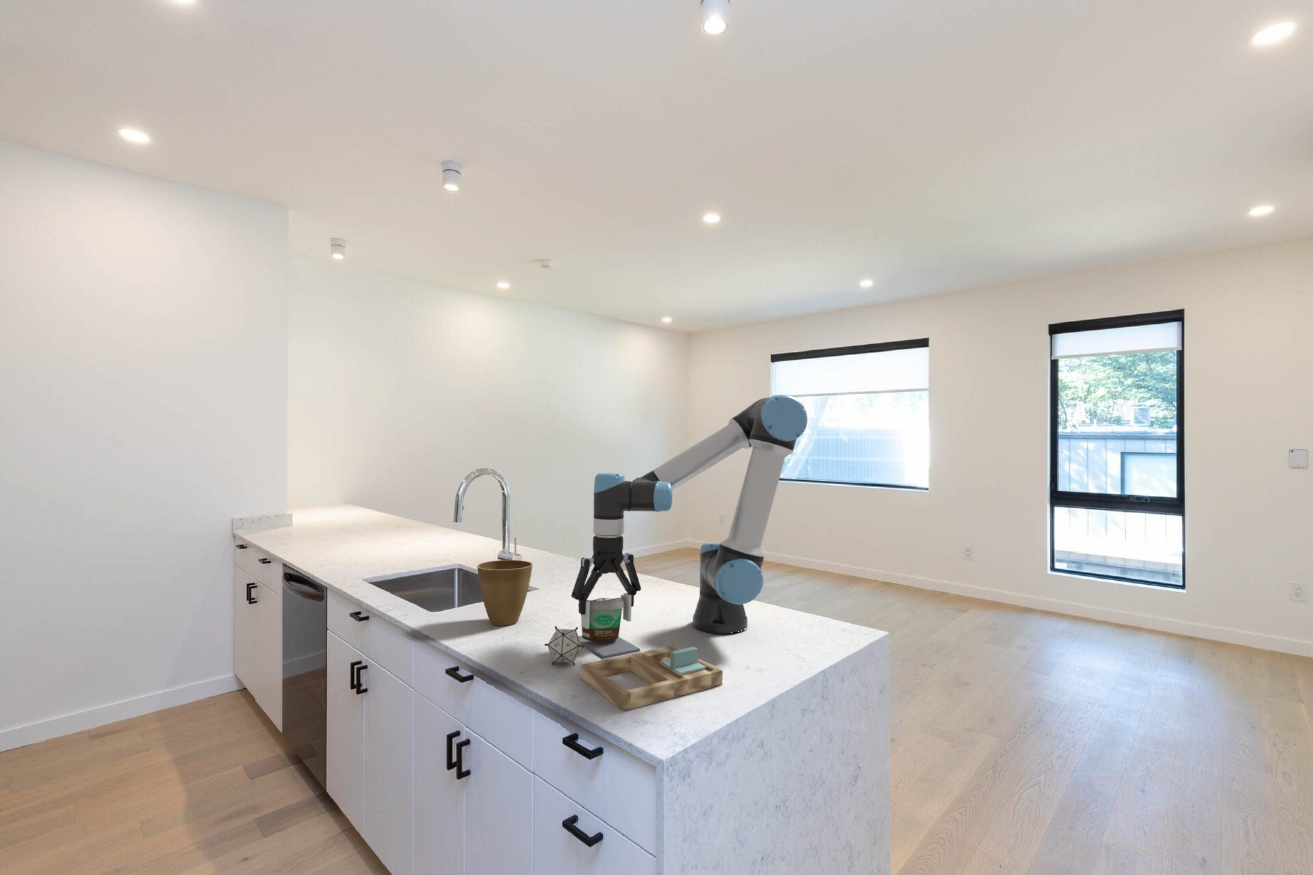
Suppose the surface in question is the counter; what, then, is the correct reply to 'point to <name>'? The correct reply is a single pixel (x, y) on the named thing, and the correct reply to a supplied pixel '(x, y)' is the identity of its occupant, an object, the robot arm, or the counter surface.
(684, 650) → the cover
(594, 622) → the food container
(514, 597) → the plant pot
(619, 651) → the mat
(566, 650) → the game die
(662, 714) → the counter surface
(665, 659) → the ball
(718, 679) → the wooden compartment tray
